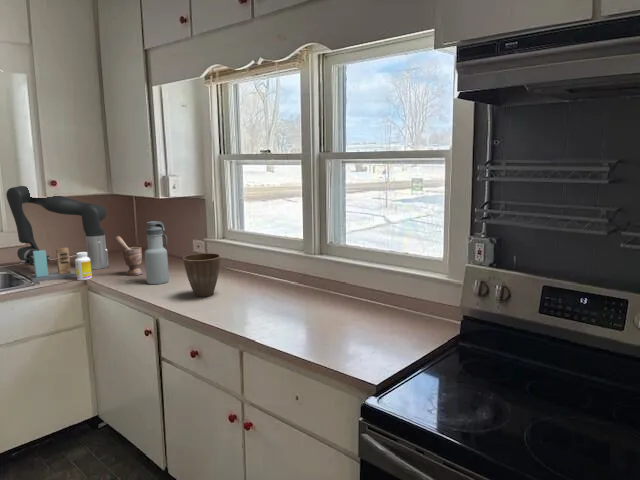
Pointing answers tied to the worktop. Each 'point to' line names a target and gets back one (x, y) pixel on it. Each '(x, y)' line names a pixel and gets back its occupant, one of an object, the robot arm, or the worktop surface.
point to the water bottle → (156, 254)
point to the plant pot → (202, 272)
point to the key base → (53, 276)
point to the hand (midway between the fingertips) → (38, 262)
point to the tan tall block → (63, 260)
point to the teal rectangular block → (40, 263)
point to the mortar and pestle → (131, 257)
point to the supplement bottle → (83, 266)
